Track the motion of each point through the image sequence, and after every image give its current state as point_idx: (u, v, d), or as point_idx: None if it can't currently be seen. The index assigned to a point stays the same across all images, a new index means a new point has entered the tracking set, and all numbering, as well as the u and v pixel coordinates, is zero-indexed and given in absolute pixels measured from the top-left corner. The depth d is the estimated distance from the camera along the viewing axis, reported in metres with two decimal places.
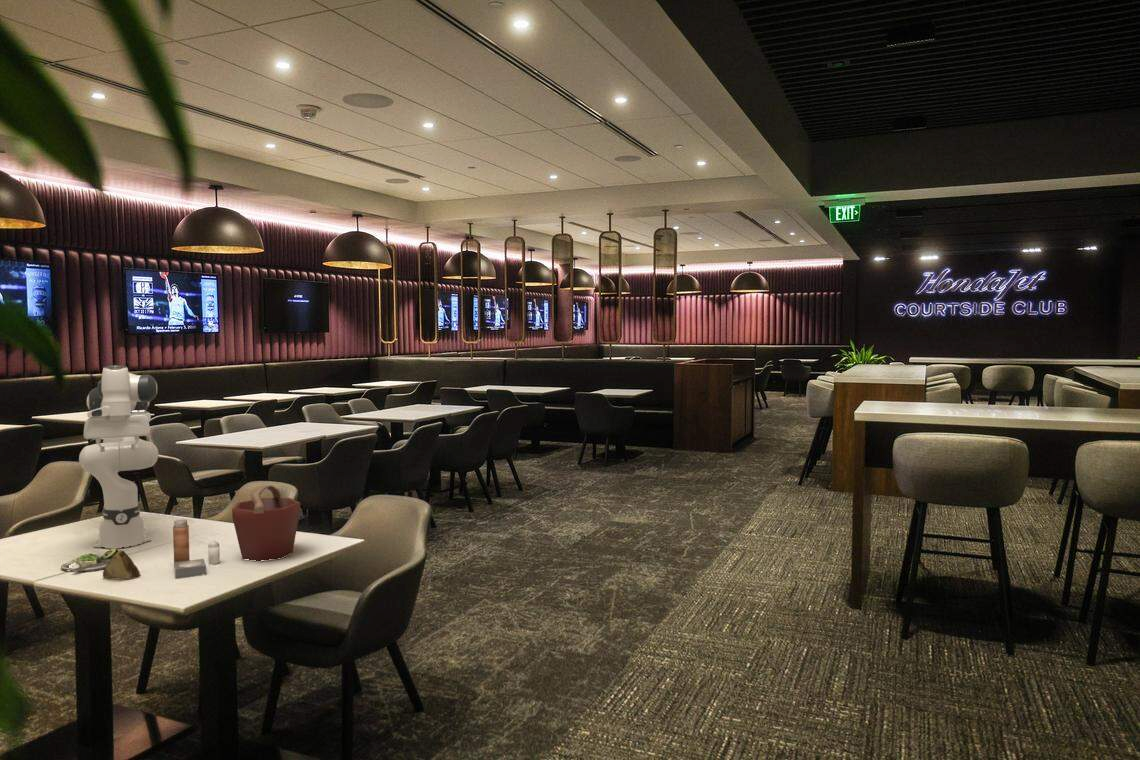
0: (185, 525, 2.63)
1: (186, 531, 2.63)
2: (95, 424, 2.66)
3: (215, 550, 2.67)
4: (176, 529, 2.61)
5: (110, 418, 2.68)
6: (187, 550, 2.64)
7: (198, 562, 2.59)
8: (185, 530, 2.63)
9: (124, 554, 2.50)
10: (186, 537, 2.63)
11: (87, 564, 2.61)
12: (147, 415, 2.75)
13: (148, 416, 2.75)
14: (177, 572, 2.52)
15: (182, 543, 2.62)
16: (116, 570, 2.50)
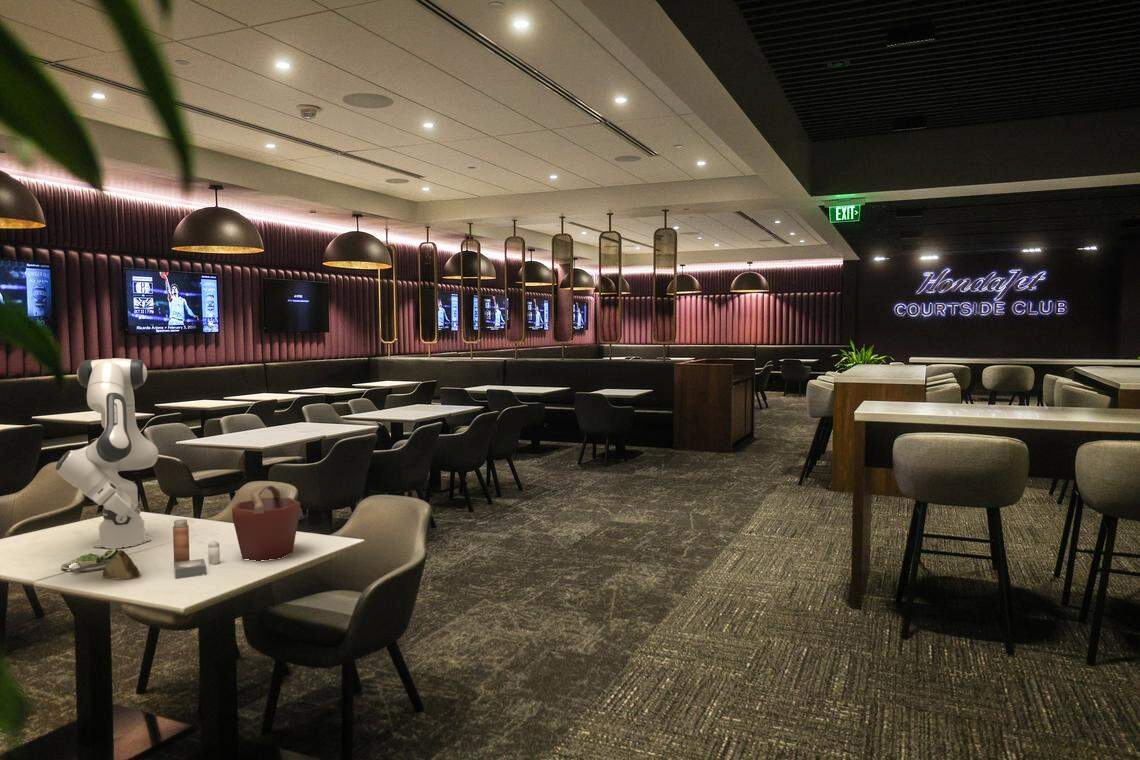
0: (185, 525, 2.63)
1: (186, 531, 2.63)
2: None
3: (215, 550, 2.67)
4: (176, 529, 2.61)
5: (116, 490, 2.52)
6: (187, 550, 2.64)
7: (198, 562, 2.59)
8: (185, 530, 2.63)
9: (124, 554, 2.50)
10: (186, 537, 2.63)
11: (87, 564, 2.61)
12: None
13: None
14: (177, 572, 2.52)
15: (182, 543, 2.62)
16: (116, 570, 2.50)
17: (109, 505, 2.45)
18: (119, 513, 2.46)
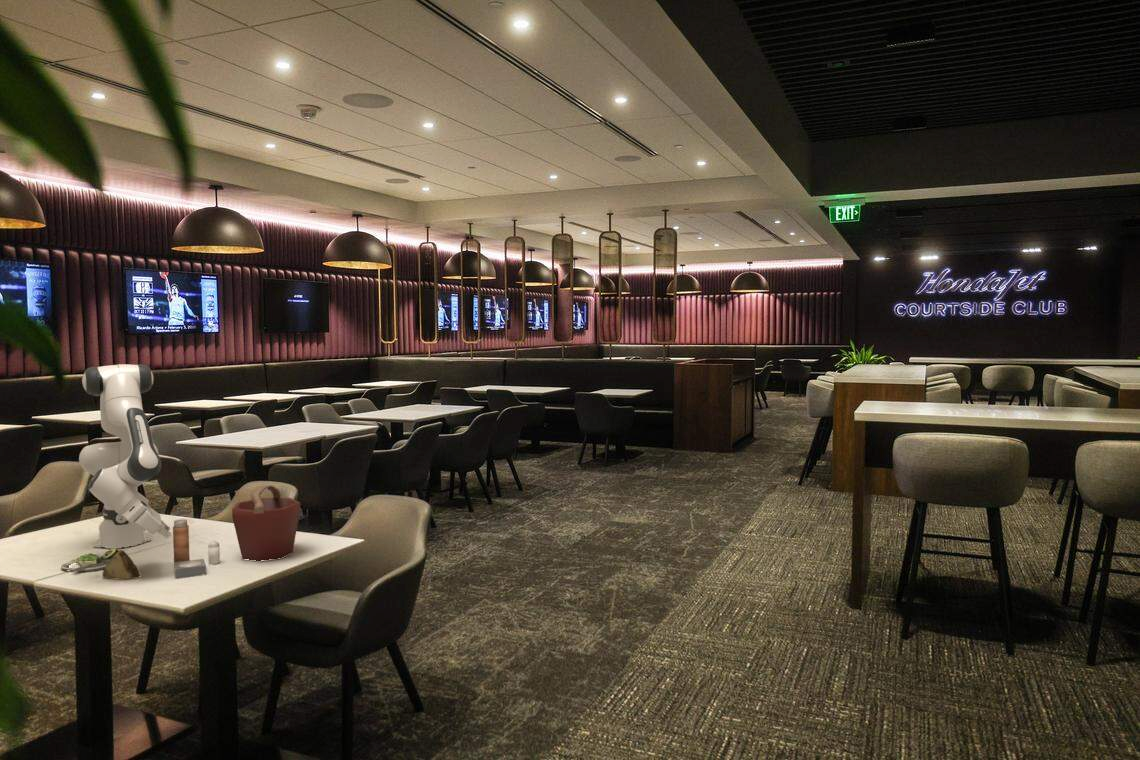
0: (185, 525, 2.63)
1: (186, 531, 2.63)
2: None
3: (215, 550, 2.67)
4: (176, 529, 2.61)
5: (146, 507, 2.56)
6: (187, 550, 2.64)
7: (198, 562, 2.59)
8: (185, 530, 2.63)
9: (124, 554, 2.50)
10: (186, 537, 2.63)
11: (87, 564, 2.61)
12: None
13: None
14: (177, 572, 2.52)
15: (182, 543, 2.62)
16: (116, 570, 2.50)
17: (141, 522, 2.48)
18: (150, 530, 2.49)
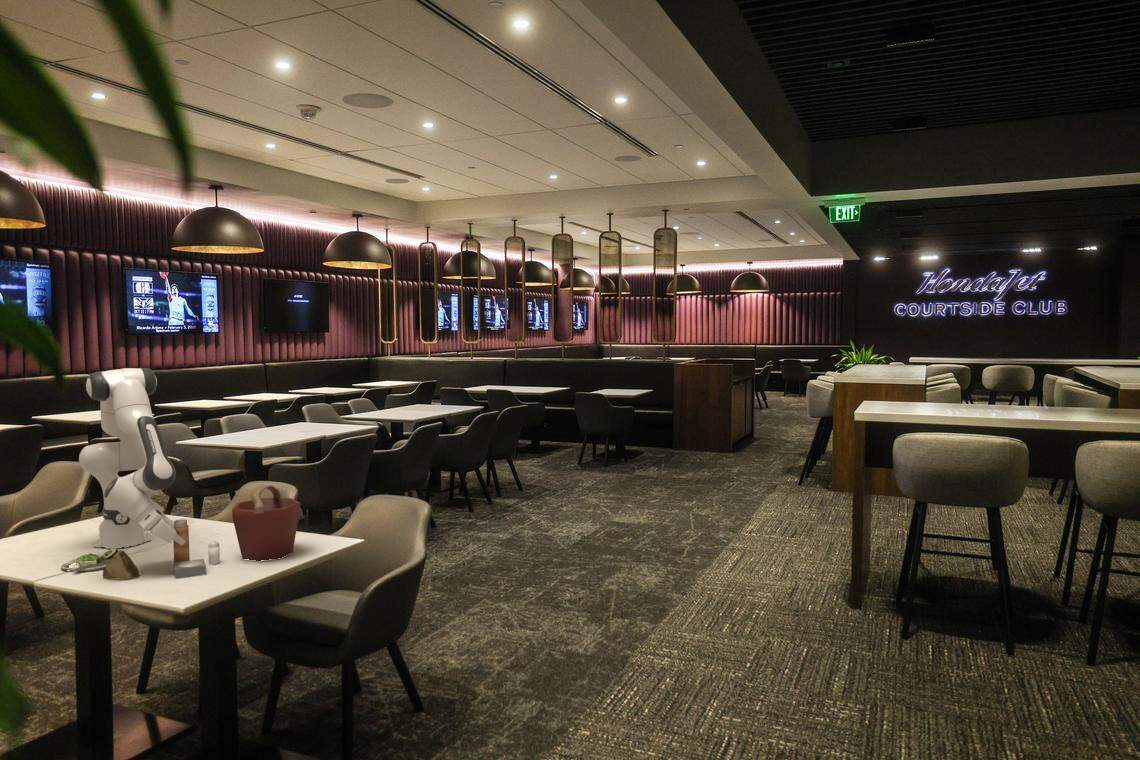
0: (185, 525, 2.63)
1: (186, 531, 2.63)
2: None
3: (215, 550, 2.67)
4: (176, 529, 2.61)
5: (161, 516, 2.59)
6: (187, 550, 2.64)
7: (198, 562, 2.59)
8: (185, 530, 2.63)
9: (124, 554, 2.50)
10: (186, 537, 2.63)
11: (87, 564, 2.61)
12: None
13: None
14: (177, 572, 2.52)
15: None
16: (116, 570, 2.50)
17: (156, 531, 2.51)
18: (165, 539, 2.52)
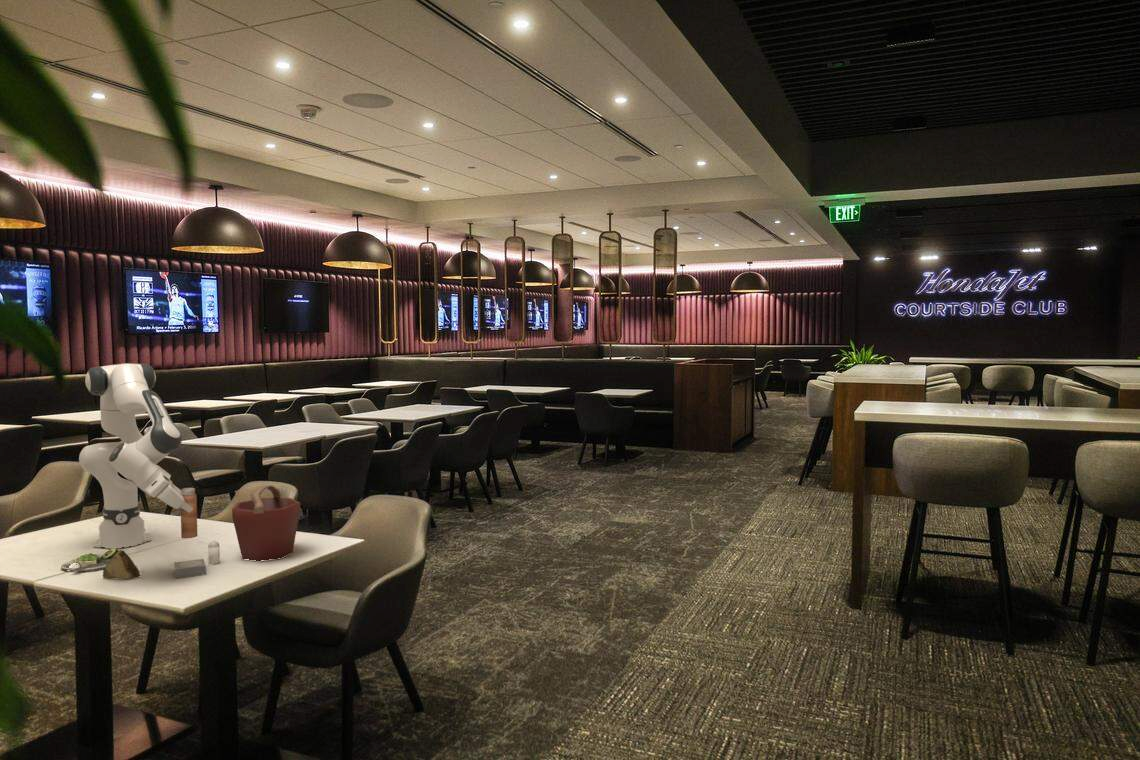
0: (193, 493, 2.56)
1: (194, 500, 2.55)
2: None
3: (215, 550, 2.67)
4: (183, 497, 2.54)
5: (168, 482, 2.51)
6: (195, 519, 2.56)
7: (198, 562, 2.59)
8: (193, 499, 2.55)
9: (124, 554, 2.50)
10: (194, 506, 2.55)
11: (87, 564, 2.61)
12: None
13: None
14: (177, 572, 2.52)
15: (190, 512, 2.54)
16: (116, 570, 2.50)
17: (163, 497, 2.44)
18: (173, 505, 2.45)
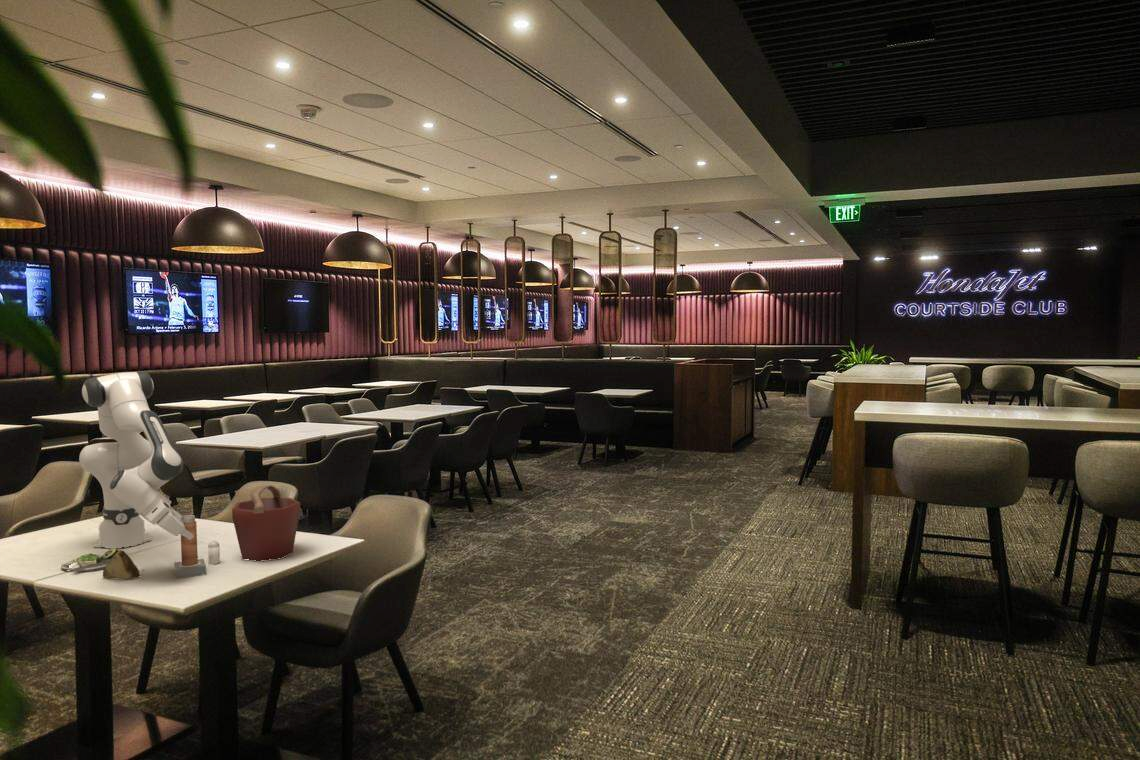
0: (193, 521, 2.56)
1: (194, 527, 2.56)
2: None
3: (215, 550, 2.67)
4: (184, 525, 2.54)
5: (169, 509, 2.52)
6: (195, 546, 2.57)
7: (198, 562, 2.59)
8: (193, 527, 2.55)
9: (124, 554, 2.50)
10: (194, 533, 2.56)
11: (87, 564, 2.61)
12: None
13: None
14: (177, 572, 2.52)
15: (190, 540, 2.55)
16: (116, 570, 2.50)
17: (164, 524, 2.44)
18: (173, 532, 2.45)
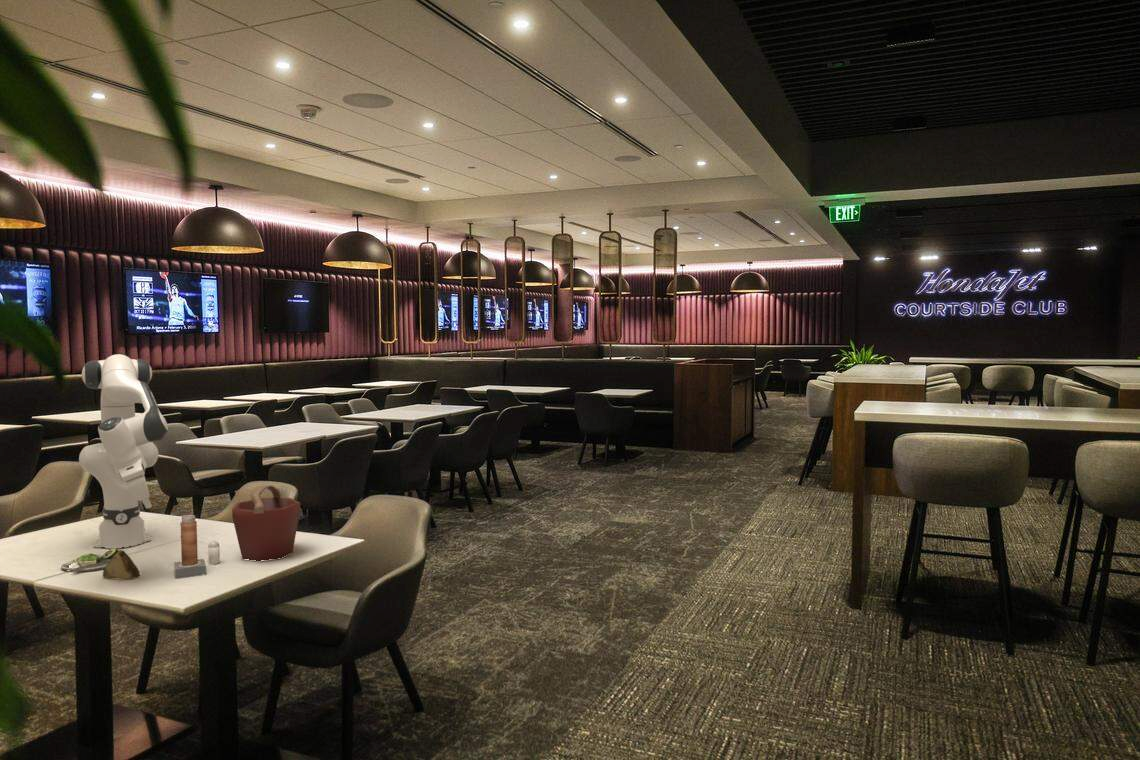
0: (193, 521, 2.56)
1: (194, 527, 2.56)
2: None
3: (215, 550, 2.67)
4: (184, 525, 2.54)
5: None
6: (195, 546, 2.57)
7: (198, 562, 2.59)
8: (193, 527, 2.56)
9: (124, 554, 2.50)
10: (194, 533, 2.56)
11: (87, 564, 2.61)
12: None
13: None
14: (177, 572, 2.52)
15: (190, 540, 2.55)
16: (116, 570, 2.50)
17: (132, 485, 2.42)
18: (137, 497, 2.42)
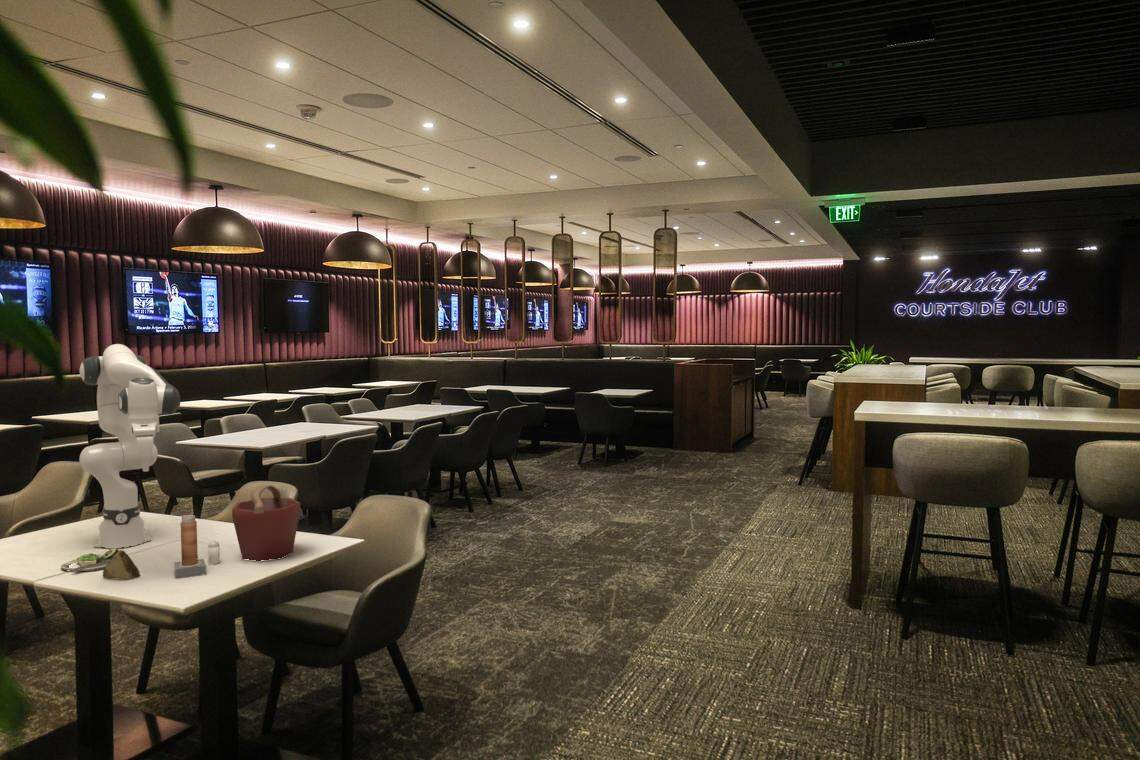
0: (193, 521, 2.56)
1: (194, 527, 2.56)
2: None
3: (215, 550, 2.67)
4: (184, 525, 2.54)
5: None
6: (195, 546, 2.57)
7: (198, 562, 2.59)
8: (193, 527, 2.56)
9: (124, 554, 2.50)
10: (194, 533, 2.56)
11: (87, 564, 2.61)
12: None
13: None
14: (177, 572, 2.52)
15: (190, 540, 2.55)
16: (116, 570, 2.50)
17: (140, 441, 2.45)
18: (140, 454, 2.45)
